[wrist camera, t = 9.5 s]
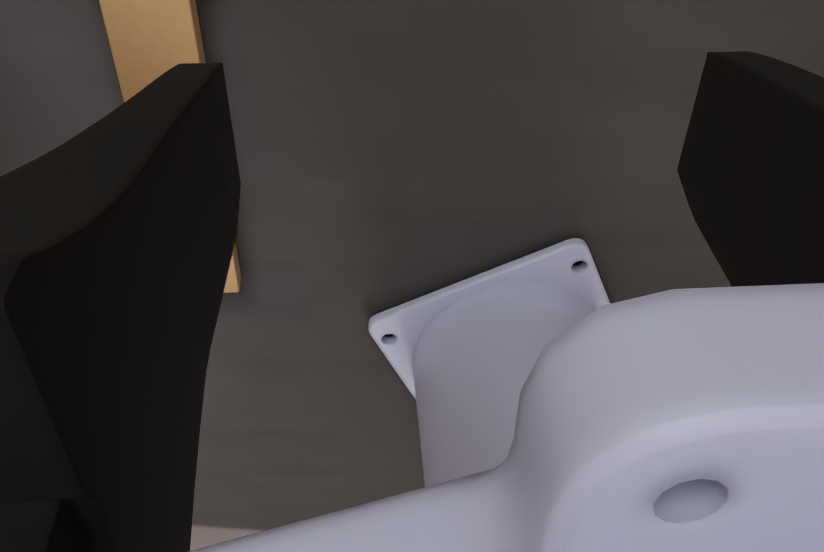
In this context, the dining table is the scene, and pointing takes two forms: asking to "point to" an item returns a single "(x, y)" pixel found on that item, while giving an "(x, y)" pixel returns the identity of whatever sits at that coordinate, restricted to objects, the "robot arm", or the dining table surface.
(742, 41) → the dining table surface
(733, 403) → the robot arm
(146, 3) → the salad fork
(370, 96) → the dining table surface
